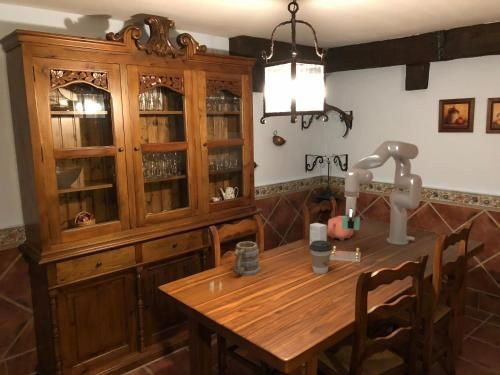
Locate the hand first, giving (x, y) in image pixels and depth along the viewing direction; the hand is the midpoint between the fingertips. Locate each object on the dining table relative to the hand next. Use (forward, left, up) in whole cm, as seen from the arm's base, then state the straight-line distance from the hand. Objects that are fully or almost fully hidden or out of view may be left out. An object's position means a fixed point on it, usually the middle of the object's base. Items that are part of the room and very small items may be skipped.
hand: (350, 226), depth 228 cm
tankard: (+50, +35, -18) cm, 64 cm away
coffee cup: (+13, +24, -18) cm, 33 cm away
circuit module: (0, 0, -1) cm, 1 cm away
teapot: (+7, -35, -18) cm, 40 cm away
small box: (+19, -16, -18) cm, 31 cm away
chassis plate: (+2, 0, -18) cm, 18 cm away
